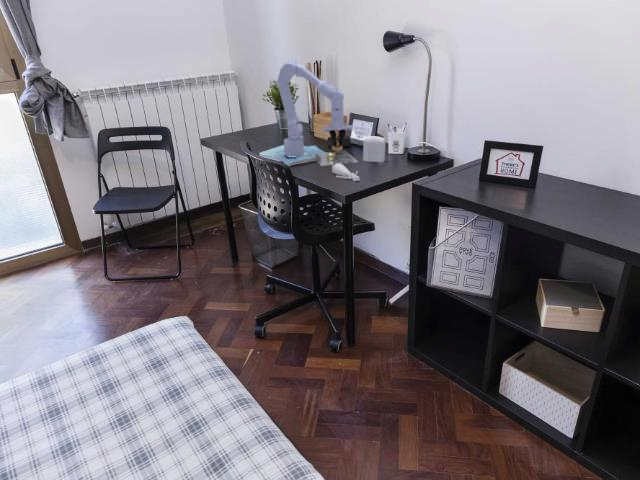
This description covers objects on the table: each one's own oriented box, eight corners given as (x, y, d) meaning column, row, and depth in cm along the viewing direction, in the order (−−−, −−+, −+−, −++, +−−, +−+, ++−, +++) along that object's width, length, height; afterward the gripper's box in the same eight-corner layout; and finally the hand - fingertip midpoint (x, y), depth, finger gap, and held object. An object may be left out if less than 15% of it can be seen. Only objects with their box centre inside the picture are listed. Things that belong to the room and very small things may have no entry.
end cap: (334, 152, 241) (333, 139, 238) (326, 149, 247) (326, 136, 244) (350, 149, 246) (350, 136, 243) (343, 146, 251) (343, 133, 248)
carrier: (321, 167, 219) (321, 159, 218) (310, 155, 237) (310, 148, 235) (358, 164, 223) (358, 155, 222) (345, 152, 241) (345, 144, 239)
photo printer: (385, 161, 225) (386, 135, 220) (383, 164, 222) (384, 138, 216) (364, 160, 228) (364, 134, 223) (362, 163, 225) (362, 136, 219)
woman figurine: (345, 159, 216) (369, 172, 203) (344, 168, 218) (369, 182, 205) (323, 164, 210) (347, 177, 197) (323, 173, 213) (347, 187, 200)
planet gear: (333, 151, 231) (333, 143, 230) (331, 148, 236) (331, 140, 234) (343, 150, 232) (343, 142, 231) (340, 147, 237) (341, 139, 235)
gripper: (324, 120, 222) (325, 149, 228) (354, 118, 225) (354, 146, 231) (320, 117, 228) (321, 145, 234) (350, 115, 231) (349, 142, 237)
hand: (337, 145), depth 233 cm, fingers closed on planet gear, 2 cm apart
